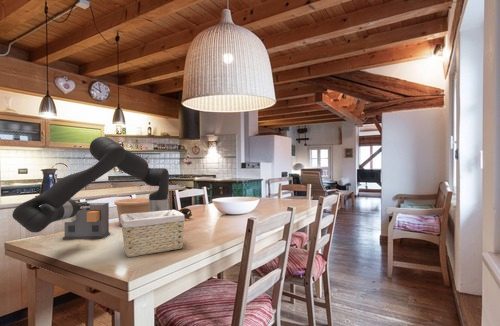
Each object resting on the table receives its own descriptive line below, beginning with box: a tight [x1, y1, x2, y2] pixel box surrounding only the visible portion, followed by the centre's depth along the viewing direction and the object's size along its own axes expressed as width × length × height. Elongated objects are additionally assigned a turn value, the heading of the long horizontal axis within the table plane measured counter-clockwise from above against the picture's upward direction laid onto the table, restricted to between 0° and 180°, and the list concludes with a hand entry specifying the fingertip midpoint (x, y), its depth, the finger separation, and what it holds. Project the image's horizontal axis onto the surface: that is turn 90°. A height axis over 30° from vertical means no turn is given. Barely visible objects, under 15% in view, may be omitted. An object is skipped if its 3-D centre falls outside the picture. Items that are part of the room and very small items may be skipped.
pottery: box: [114, 197, 149, 228], centre depth 167 cm, size 22×22×14 cm
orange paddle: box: [87, 211, 101, 222], centre depth 134 cm, size 5×4×4 cm
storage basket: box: [120, 209, 186, 258], centre depth 119 cm, size 24×16×15 cm
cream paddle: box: [61, 214, 77, 223], centre depth 133 cm, size 5×4×4 cm
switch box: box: [62, 202, 111, 240], centre depth 139 cm, size 8×18×16 cm, turn 94°
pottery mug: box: [175, 207, 193, 220], centre depth 182 cm, size 12×10×8 cm
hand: (85, 204), depth 126 cm, fingers closed
